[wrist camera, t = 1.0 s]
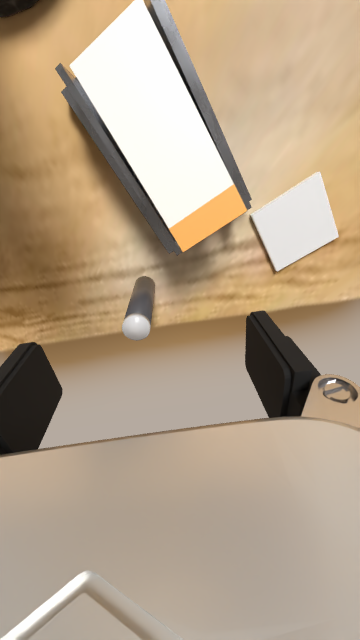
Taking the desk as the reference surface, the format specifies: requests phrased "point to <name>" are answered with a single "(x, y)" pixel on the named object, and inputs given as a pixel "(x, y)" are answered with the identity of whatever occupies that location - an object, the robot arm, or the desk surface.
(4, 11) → the banker's lamp
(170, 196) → the tilting box lid
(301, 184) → the mat
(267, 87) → the desk surface
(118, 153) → the tilting lid box
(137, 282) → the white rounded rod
